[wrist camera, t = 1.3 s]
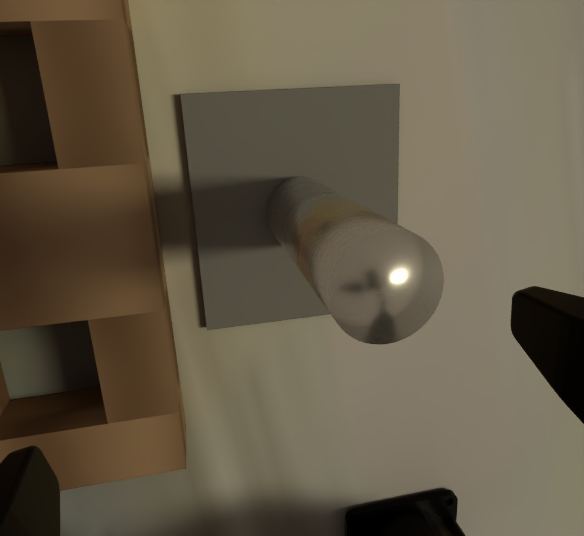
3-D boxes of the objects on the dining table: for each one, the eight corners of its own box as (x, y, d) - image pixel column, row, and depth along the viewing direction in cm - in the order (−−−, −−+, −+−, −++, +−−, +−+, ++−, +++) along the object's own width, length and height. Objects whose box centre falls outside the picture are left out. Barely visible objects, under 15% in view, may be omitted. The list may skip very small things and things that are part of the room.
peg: (332, 173, 22) (446, 223, 12) (334, 241, 22) (441, 335, 13) (263, 179, 21) (327, 236, 12) (267, 248, 22) (330, 351, 13)
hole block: (120, -53, 18) (108, -83, 15) (185, 426, 24) (186, 468, 21) (-204, -54, 16) (-286, -88, 13) (-43, 463, 22) (-76, 514, 20)
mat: (396, 84, 21) (399, 84, 21) (393, 303, 24) (396, 305, 24) (180, 94, 20) (180, 94, 19) (206, 327, 23) (206, 330, 22)
